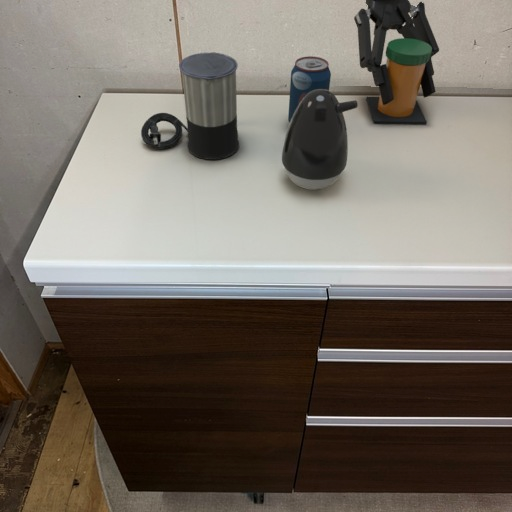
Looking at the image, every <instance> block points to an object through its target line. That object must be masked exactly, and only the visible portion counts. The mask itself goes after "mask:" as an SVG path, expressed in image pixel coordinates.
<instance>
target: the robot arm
mask: <svg viewBox="0 0 512 512" xmlns="http://www.w3.org/2000/svg"><path fill="white" fill-rule="evenodd" d="M422 2H423V1H419V2H418V3H419V4H418V3H417V4H418V5H417V7H415V6H413V5H411V4H412V3H411V2H410V1H409V0H366V2H365V5H366V4H367V5H368V7H367V9H365V8H360V9H359V10H358V12H357V13H356V14H355V15H354V17H353V20H354V22H355V25H356V28H357V40H358V41H357V42H358V55H359V66H360V68H361V69H367V72H369V73H371V74H372V79H373V84H374V86H375V87H376V88H377V87H378V89H379V95H380V94H381V98H382V103H383V105H385V104H388V103H389V102H391V101H392V100H394V97H393V92H392V88H391V84H390V79H389V75H388V70H387V66H386V63H384V64H382V62H383V55H384V50H385V43H386V39H387V38H386V37H387V33H388V31H390V30H394V31H397V33H398V34H399V35H401V36H402V38H409V39H416V40H420V41H423V42H426V43H428V44H429V45H430V46H431V47H432V51H431V52H432V53H431V57H430V59H429V61H428V62H426V65H425V69H424V73H423V77H422V81H421V85H420V88H421V93H422V96H423V98H428V97H430V96H432V95H433V94H434V93H436V92H437V91H436V87H435V82H434V78H433V76H434V75H435V70H434V65H433V60H432V58H433V57H434V56H435V55H436V54H438V53H439V52H440V47H439V45H438V42H437V40H436V38H435V37H436V36H435V34H434V33H433V30H432V27H431V25H430V23H429V20H428V17H427V15H426V7H425V5H426V4H425V3H424V2H423V3H422ZM367 5H366V6H367ZM410 15H411V17H410ZM412 17H413V18H412ZM370 20H371V21H372V23H374V28H373V41H372V38H371V22H370Z"/></svg>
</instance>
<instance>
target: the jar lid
mask: <svg viewBox="0 0 512 512" xmlns="http://www.w3.org/2000/svg"><path fill="white" fill-rule="evenodd" d="M431 51H432V47H431V46H430V45H429V44H428V43H426V42H423V41H420V40H416V39H409V38H404V37H402V38H396V39H395V38H394V39H391V40H390V41H388V42H387V45H386V48H385V57H386V59H387V58H388V59H389V60H391V61H393V62H396V63H399V64H404V65H421V64H424V63H426V62H428V61H429V59H430V57H431V53H432V52H431Z"/></svg>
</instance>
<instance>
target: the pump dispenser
mask: <svg viewBox="0 0 512 512" xmlns="http://www.w3.org/2000/svg"><path fill="white" fill-rule="evenodd" d="M358 106H359V103H358V101H357V100H349V101H342V102H340V101H339V100H338V98H337V97H336V95H335V94H334V93H333V92H332V91H330V90H329V91H328V90H325V89H315V90H312V91H310V92H309V93H307V94H306V95H305V97H304V98H303V99H302V100H301V102H300V103H299V105H298V107H297V109H296V110H295V112H294V114H293V117H292V119H291V121H290V123H288V126H287V130H286V133H285V137H284V140H283V144H282V145H283V146H282V151H281V163H282V165H283V167H284V170H285V173H286V175H287V177H288V178H289V180H290V181H291V182H292V183H294V184H295V185H297V186H298V187H300V188H303V189H305V190H322V189H325V188H328V187H329V186H331V185H333V184H334V183H335V182H336V181H338V179H339V178H340V176H341V174H342V173H343V172H344V171H345V169H346V168H347V163H348V156H349V155H348V151H349V143H348V140H349V139H348V131H347V130H348V129H347V124H346V119H345V116H344V113H345V112H348V111H351V110H355V109H357V108H358Z"/></svg>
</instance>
